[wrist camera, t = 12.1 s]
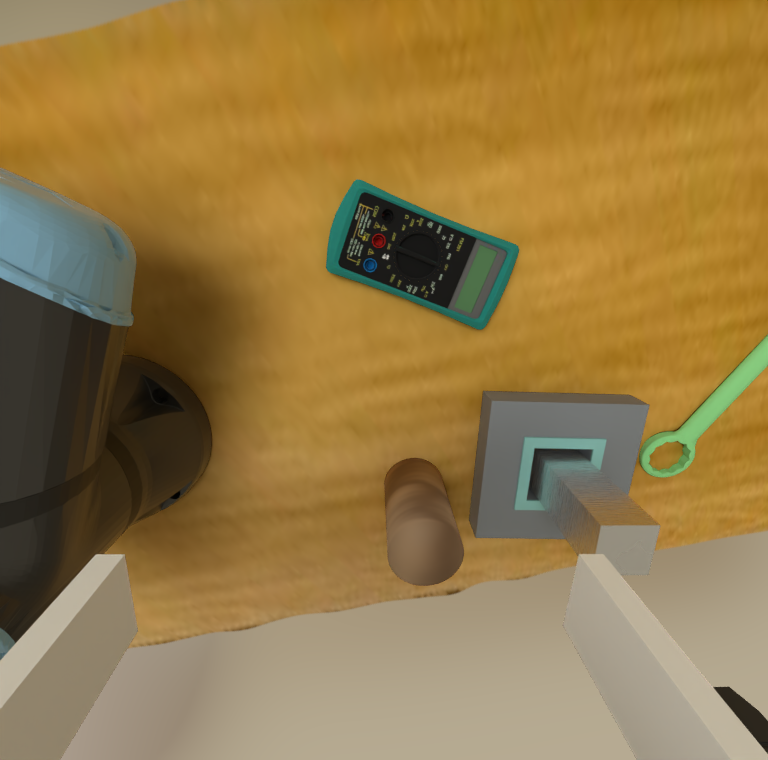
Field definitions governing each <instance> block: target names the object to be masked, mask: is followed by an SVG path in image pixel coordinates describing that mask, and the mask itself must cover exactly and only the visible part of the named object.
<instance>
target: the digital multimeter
mask: <svg viewBox="0 0 768 760" xmlns="http://www.w3.org/2000/svg"><path fill="white" fill-rule="evenodd" d="M369 193H370V194H369ZM376 196H377V197H376ZM381 198H382V199H381ZM388 201H389V202H388ZM393 203H394V204H393ZM413 231H414V232H413ZM397 243H398V244H397ZM395 247H396V248H395ZM518 253H519V248H518V246H517V245H516V244H513V243H510V242H507V241H505V240H502V239H499V238H496V237H494V236H491V235H488V234H485V233H482V232H480V231H477V230H474V229H471V228H469V227H466V226H464V225H461V224H459V223H456V222H454V221H451V220H449V219H446V218H444V217H441V216H439V215H436V214H434V213H431V212H429V211H427V210H424V209H422V208H420V207H418V206H416V205H413V204H411V203H409V202H407V201H405V200H402V199H400V198H398V197H396V196H393V195H391V194H389V193H387V192H385V191H383V190H381V189H379V188H377V187H375V186H373V185H371V184H368V183H366V182H364V181H362V180H356V181H354V182H353V184H352V186H351V187H350V189H349V190H348V192H347V194H346V195H345V197H344V199H343V201H342V203H341V205H340V207H339V209H338V211H337V213H336V215H335V218H334V221H333V224H332V227H331V230H330V236H329V242H328V250H327V263H326V268H327V270H328V271H329V272H330V273H333V274H336V275H339V276H342V277H345V278H348V279H351V280H354V281H357V282H360V283H363V284H366V285H369V286H372V287H375V288H377V289H380V290H383V291H386V292H389V293H391V294H394V295H397V296H400V297H402V298H405V299H407V300H410V301H412V302H415V303H417V304H420V305H422V306H425V307H427V308H430V309H432V310H435V311H437V312H439V313H442V314H444V315H446V316H449V317H451V318H453V319H455V320H458V321H460V322H462V323H464V324H467V325H469V326H471V327H474V328H476V329H480V330H481V329H483V328H484V327H485V326H486V325H487V323H488V321H489V319H490V317H491V316H492V314H493V312H494V310H495V308H496V306H497V304H498V302H499V300H500V298H501V296H502V294H503V292H504V290H505V287H506V285H507V283H508V280H509V278H510V275H511V272H512V270H513V267H514V264H515V261H516V259H517V256H518ZM505 257H506V258H505ZM504 259H505V260H504ZM394 262H395V263H394ZM440 264H441V265H440ZM398 271H399V272H398ZM359 274H360V275H359Z"/></svg>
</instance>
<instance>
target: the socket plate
mask: <svg viewBox="0 0 768 760" xmlns="http://www.w3.org/2000/svg"><path fill="white" fill-rule="evenodd" d="M648 409H649V405H648V404H646V403H645V402H643V401H641V400H639V399H637V398H635V397H633V396H631V395H614V394H576V393H538V392H501V391H483V398H482V407H481V416H480V425H479V434H478V443H477V452H476V461H475V470H474V479H473V488H472V497H471V506H470V515H469V521H470V524H471V527H472V529H473V532H474V535H475V537H476V538H528V539H566V538H565V537H564V536H563V534H562V533H561V531H560V530H559V528H558V527H557V526H556V524H555V523H554V521H553V520H552V518H551V517H550V516H549V514H548V513H547V511H546V510H545V508H544V507H543V506H542V504H541V503H540V501H539V500H538V498H537V497H536V496H535V494H534V493H533V491H532V490H531V488H530V487H529V481H530V474H531V468H532V462H533V455H534V449H535V448H549V449H577V450H578V451H579V452H580V453H582V454H583V455H584V456H585V457H586V458H587V459H588V460H589V461H590V462H591V463H592V464H594V465H595V466H596V467H597V468H598V469H599V470H600V471H601V472H602V473H603V474H605V475H606V476H607V477H608V478H609V479H610V480H611V481H612V482H613V483H614V484H616V485H617V486H618V487H619V488H620V489H621V490H622V491H623V492H624V493H625V494H627V495H628V493H629V489H630V485H631V481H632V476H633V472H634V468H635V464H636V460H637V455H638V451H639V447H640V443H641V438H642V434H643V430H644V426H645V422H646V417H647V413H648Z"/></svg>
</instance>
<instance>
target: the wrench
mask: <svg viewBox="0 0 768 760" xmlns="http://www.w3.org/2000/svg"><path fill="white" fill-rule="evenodd" d="M767 366H768V335H767V336H766V337H765V338H764V339H763V340H762V341H761V342H760V343H759V344H758V345H757V346H756V348H755V349H754V350H753V351H752V352H751V353H750V354H749V355H748V356H747V357H746V358H745V359H744V360H743V361H742V362H741V364H740V365H739V366H738V367H737V368H736V369H735V370H734V371H733V372H732V373H731V374H730V375H729V376H728V377H727V378H726V380H725V381H724V382H723V383H722V384H721V385H720V386H719V387H718V388H717V389H716V390H715V391H714V392H713V393H712V394H711V396H710V397H709V398H708V399H707V400H706V401H705V402H704V403H703V404H702V405H701V406H700V407H699V408H698V409H697V410H696V411H695V413H694V414H693V415H692V416H691V417H690V418H689V419H688V420H687V421H686V422H685V423H684V424H683V425H682V426H681V427H680V429H679V430H677V431H675V432H673V431H667V432H661V433H658V434H656V435H654V436H652V437H650V438H649V439H648V440H647V441H646V442H645V443H644V445H643V446H642V448H641V451H640V455H639V460H640V464H641V466H642V468H643V469H644V470H645V471H646V472H647V473H648V474H650V475H652V476H655V477H669V476H673V475H676V474H678V473H680V472H682V471H683V470H685V469H686V468H687V467H688V466H689V465H690V464H691V463H692V461H693V459H694V456H695V445H696V442H697V439H698V438H699V437H700V436H701V435H702V434H703V433H704V432H705V431H706V430H707V429H708V427H709V426H710V425H711V424H712V423H713V422H714V421H715V420H716V419H717V418H718V417H719V416H720V415H721V414H722V413H723V412H724V411H725V410H726V409H727V408H728V407H729V405H730V404H731V403H732V402H733V401H734V400H735V399H736V398H737V397H738V396H739V395H740V394H741V393H742V392H743V391H744V390H745V389H746V388H747V387H748V386H749V385H750V384H751V382H752V381H753V380H754V379H755V378H756V377H757V376H758V375H759V374H760V373H761V372H762V371H763V370H764V369H765V368H766V367H767ZM674 441H679V442H680V443H682V444H683V445H684V447H683V455H682V456H681V457H680V458H679V461H678V463H677V464H674V465H672V466H671V467H670V468H669V469H662V470H659V471H658V470H657V469H656V468H652V466H651V465H650V464H649V461H650V457H649V455H650V454H652V453H653V452H654V450H655V448H656V447H658V446H661V445H663V444H664V443H665V442H674Z"/></svg>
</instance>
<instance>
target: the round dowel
mask: <svg viewBox="0 0 768 760" xmlns="http://www.w3.org/2000/svg"><path fill="white" fill-rule="evenodd" d="M384 486H385V508H386V530H387V552H388V562H389V565H390V567H391V569H392V571H393V572H394V573H395V574H396V575H397V576H398V577H399V578H400V579H402V580H404V581H405V582H408V583H410V584H414V585H420V586H428V585H434V584H438V583H440V582H443V581H445V580H447V579H448V578H450V577H451V576H452V575H453V574H454V573H455V572H456V571H457V570H458V569H459V567H460V565H461V563H462V561H463V556H464V548H463V544H462V541H461V537H460V534H459V531H458V528H457V525H456V522H455V518H454V515H453V512H452V509H451V506H450V503H449V499H448V496H447V493H446V490H445V487H444V484H443V480H442V477H441V474H440V472H439V471H438V469H437V468H436V467H435V466H434V465H433V464H432V463H430V462H428V461H426V460H423V459H419V458H410V459H405V460H402V461H400V462H398V463H397V464H395V465H394V466H393V467H392V468H391V469H390V470H389V472H388V473H387V475H386V478H385V483H384Z"/></svg>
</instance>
